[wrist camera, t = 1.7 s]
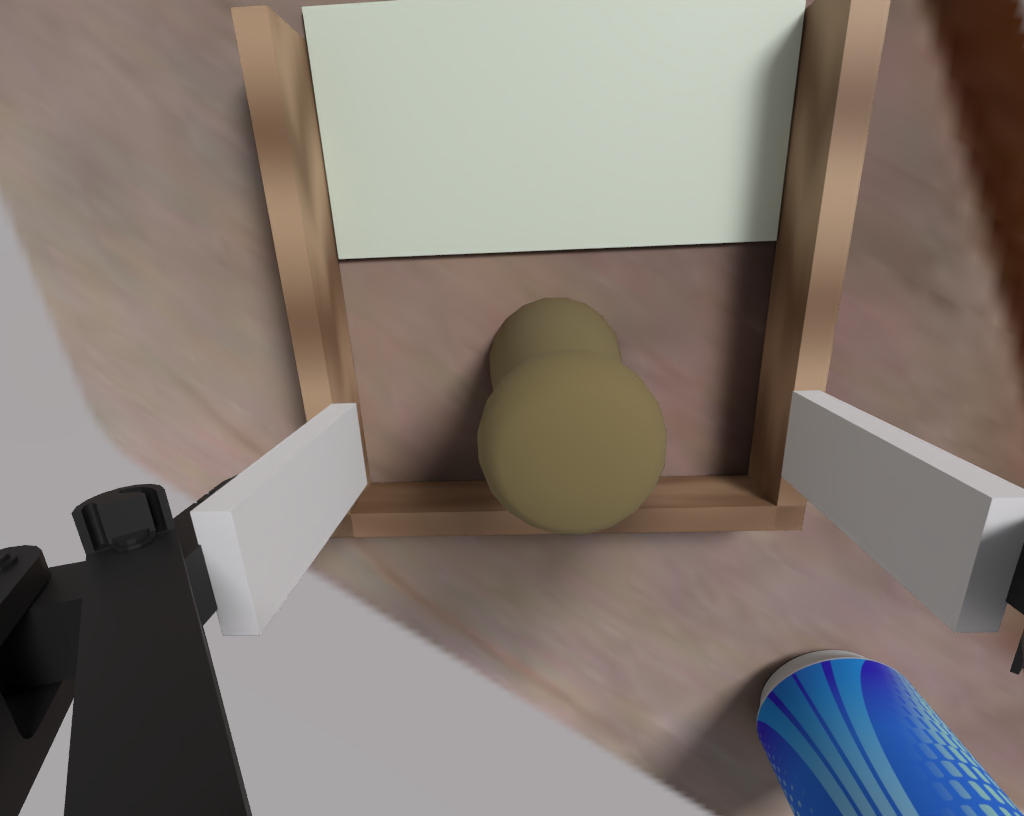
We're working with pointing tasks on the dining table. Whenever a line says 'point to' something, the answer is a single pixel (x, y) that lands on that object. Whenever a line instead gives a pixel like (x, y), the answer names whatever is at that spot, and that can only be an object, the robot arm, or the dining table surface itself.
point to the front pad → (552, 122)
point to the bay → (792, 305)
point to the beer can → (866, 744)
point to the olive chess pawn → (567, 422)
